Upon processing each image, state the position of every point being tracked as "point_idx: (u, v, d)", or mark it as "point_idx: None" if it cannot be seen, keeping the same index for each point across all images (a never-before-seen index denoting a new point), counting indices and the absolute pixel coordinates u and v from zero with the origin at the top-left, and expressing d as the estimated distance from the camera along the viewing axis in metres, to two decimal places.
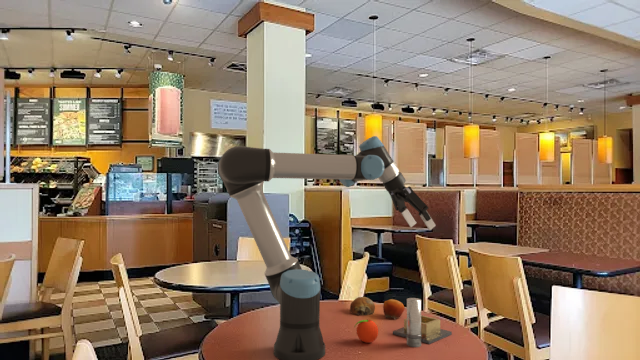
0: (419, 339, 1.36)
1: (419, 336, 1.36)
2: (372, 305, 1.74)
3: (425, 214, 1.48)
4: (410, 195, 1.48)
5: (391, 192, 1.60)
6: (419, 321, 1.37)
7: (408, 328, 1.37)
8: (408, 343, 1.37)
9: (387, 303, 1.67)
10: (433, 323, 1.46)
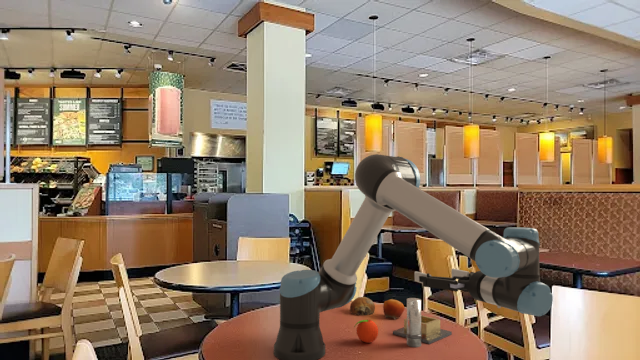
0: (419, 339, 1.36)
1: (419, 336, 1.36)
2: (372, 305, 1.74)
3: None
4: (447, 282, 1.15)
5: None
6: (419, 321, 1.37)
7: (408, 328, 1.37)
8: (408, 343, 1.37)
9: (387, 303, 1.67)
10: (433, 323, 1.46)
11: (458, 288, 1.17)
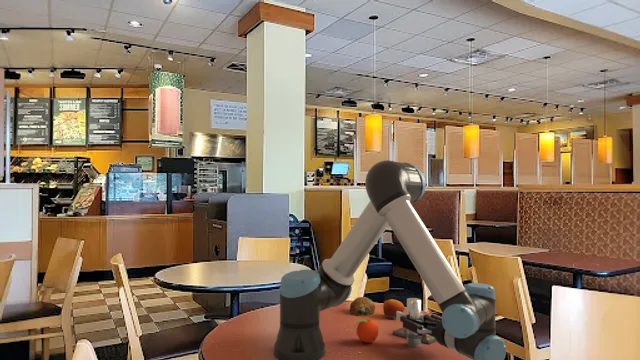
0: (419, 339, 1.36)
1: (419, 336, 1.36)
2: (372, 305, 1.74)
3: None
4: (415, 326, 1.28)
5: None
6: None
7: None
8: (408, 343, 1.37)
9: (387, 303, 1.67)
10: None
11: (427, 332, 1.29)
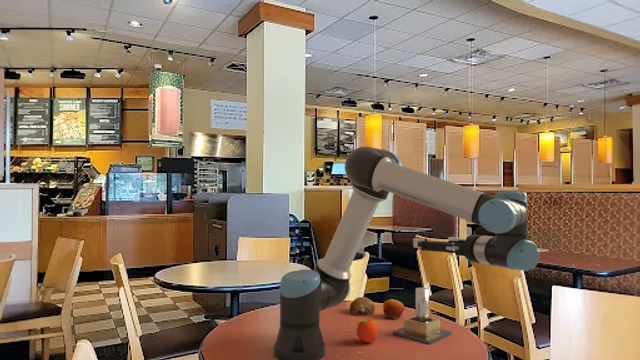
0: None
1: None
2: (372, 305, 1.74)
3: None
4: (443, 245, 1.24)
5: None
6: (427, 309, 1.47)
7: (417, 315, 1.48)
8: None
9: (387, 303, 1.67)
10: (433, 323, 1.46)
11: (453, 251, 1.26)
